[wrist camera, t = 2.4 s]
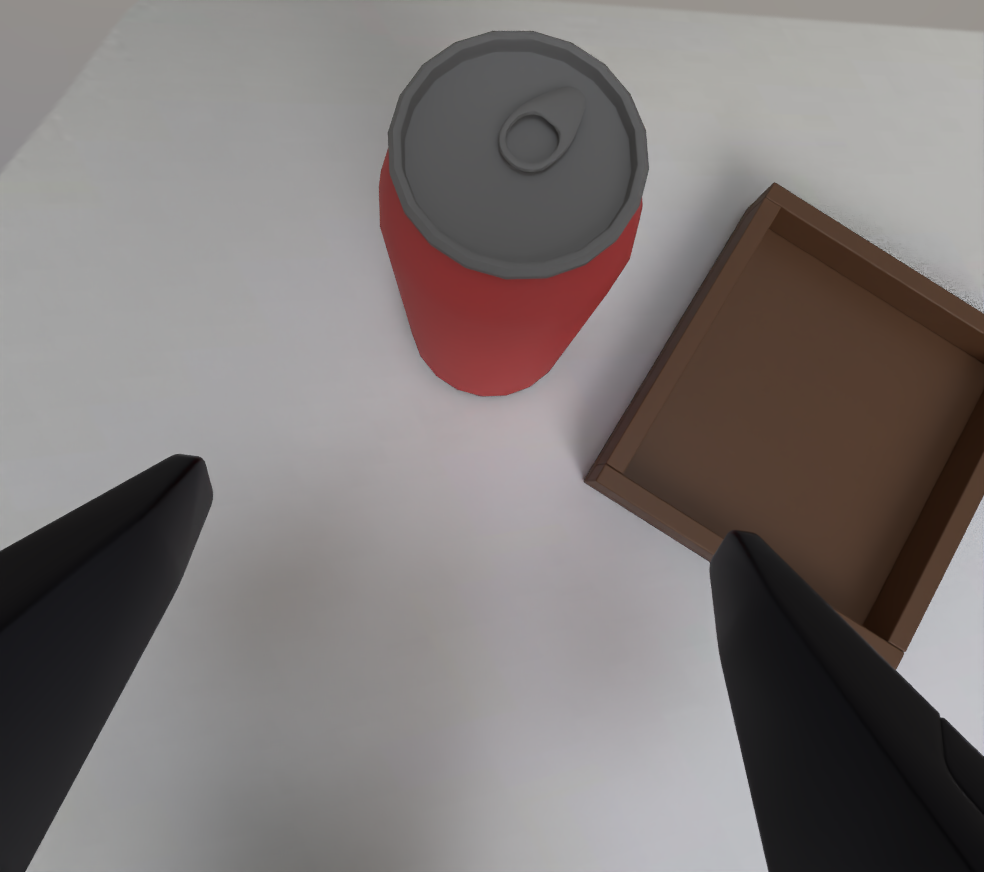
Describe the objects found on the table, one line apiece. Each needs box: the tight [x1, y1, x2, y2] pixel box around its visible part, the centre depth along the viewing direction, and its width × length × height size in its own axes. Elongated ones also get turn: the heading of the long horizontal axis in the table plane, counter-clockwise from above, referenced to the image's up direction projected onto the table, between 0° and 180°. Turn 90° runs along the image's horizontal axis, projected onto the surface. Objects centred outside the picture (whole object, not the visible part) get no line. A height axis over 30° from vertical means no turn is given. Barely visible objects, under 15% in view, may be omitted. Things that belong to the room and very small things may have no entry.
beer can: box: [379, 31, 649, 396], centre depth 17 cm, size 7×7×12 cm
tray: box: [584, 183, 984, 670], centre depth 23 cm, size 15×14×2 cm
